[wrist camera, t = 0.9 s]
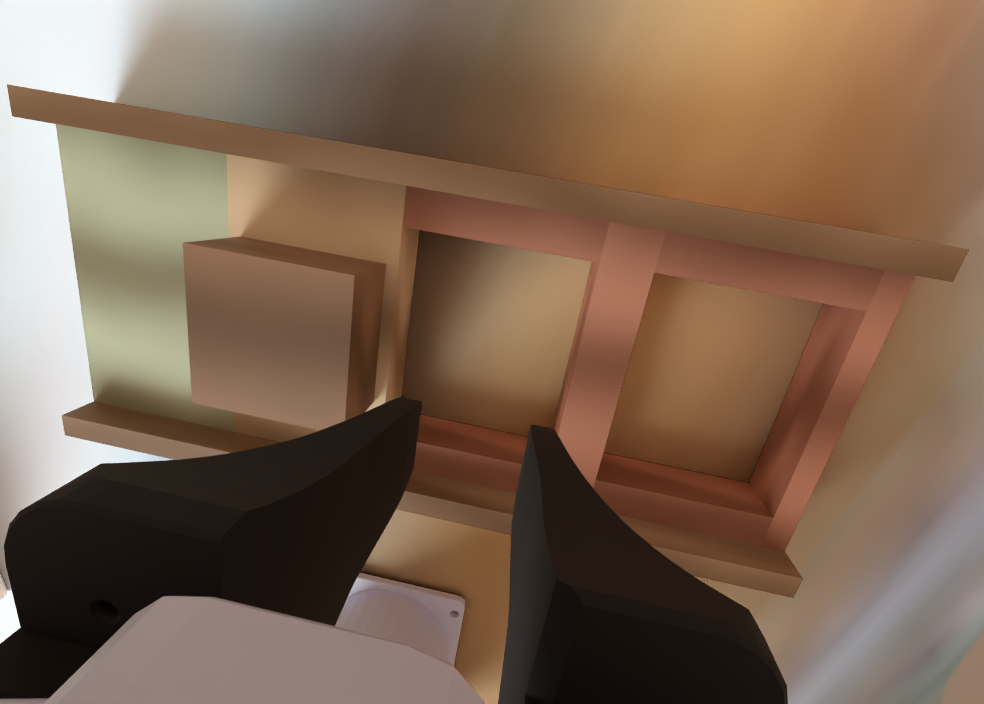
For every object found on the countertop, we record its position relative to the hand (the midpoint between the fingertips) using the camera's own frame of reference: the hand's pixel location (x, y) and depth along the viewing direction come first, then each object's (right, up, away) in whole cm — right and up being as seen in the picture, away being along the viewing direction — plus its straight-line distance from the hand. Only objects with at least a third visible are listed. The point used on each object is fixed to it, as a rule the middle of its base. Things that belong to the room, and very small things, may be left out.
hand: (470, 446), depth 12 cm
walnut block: (-7, +4, +7) cm, 11 cm away
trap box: (-1, +3, +9) cm, 10 cm away
